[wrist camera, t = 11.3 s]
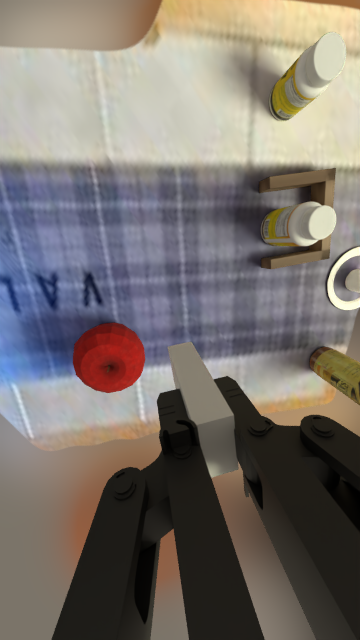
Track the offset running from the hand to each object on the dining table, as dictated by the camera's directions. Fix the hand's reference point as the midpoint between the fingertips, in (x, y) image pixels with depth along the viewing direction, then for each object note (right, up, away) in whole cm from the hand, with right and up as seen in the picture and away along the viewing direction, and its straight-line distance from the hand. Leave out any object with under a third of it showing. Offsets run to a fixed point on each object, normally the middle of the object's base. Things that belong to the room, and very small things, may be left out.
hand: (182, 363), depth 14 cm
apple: (-11, -1, +24) cm, 27 cm away
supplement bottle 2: (+15, +18, +23) cm, 33 cm away
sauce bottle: (+30, -6, +34) cm, 46 cm away
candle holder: (+33, +11, +30) cm, 46 cm away
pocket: (+17, +19, +23) cm, 35 cm away
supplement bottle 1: (+14, +34, +18) cm, 41 cm away
